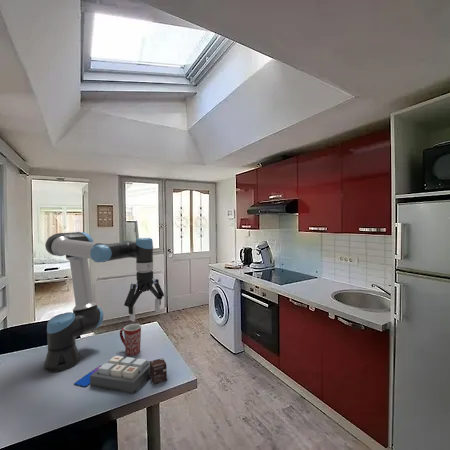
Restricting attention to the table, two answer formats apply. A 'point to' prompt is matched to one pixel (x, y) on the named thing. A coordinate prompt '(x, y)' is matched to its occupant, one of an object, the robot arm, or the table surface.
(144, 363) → the key
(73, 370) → the table surface
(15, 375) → the table surface
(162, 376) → the box
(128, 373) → the key
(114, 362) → the key
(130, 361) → the key
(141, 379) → the keypad
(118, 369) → the key
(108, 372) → the key
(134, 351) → the mug
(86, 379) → the smartphone
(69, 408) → the table surface
